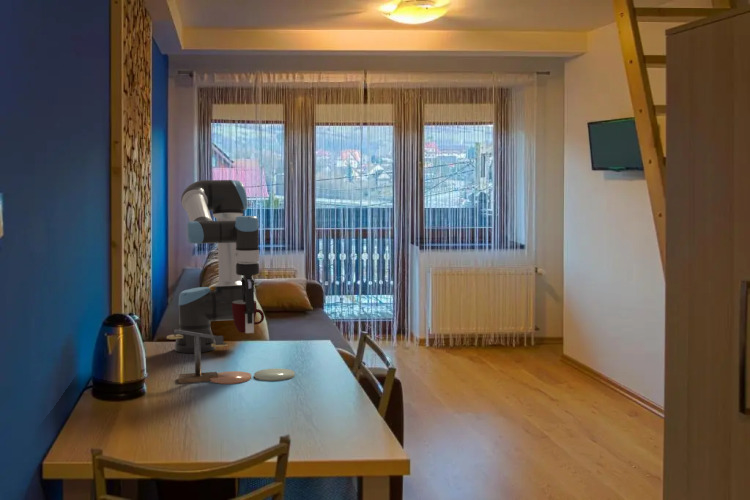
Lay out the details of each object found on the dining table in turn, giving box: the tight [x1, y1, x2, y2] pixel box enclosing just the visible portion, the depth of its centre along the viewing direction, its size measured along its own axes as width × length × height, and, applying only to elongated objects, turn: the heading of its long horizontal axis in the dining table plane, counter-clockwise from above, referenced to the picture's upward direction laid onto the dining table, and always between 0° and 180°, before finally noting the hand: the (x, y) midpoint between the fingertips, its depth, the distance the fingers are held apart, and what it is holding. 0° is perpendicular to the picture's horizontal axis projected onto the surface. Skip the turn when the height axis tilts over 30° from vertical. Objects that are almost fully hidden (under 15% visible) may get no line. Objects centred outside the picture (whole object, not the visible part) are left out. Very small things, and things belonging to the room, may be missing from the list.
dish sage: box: [253, 368, 296, 382], centre depth 244 cm, size 13×13×1 cm
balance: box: [166, 329, 228, 384], centre depth 239 cm, size 6×19×16 cm, turn 105°
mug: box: [232, 300, 265, 334], centre depth 251 cm, size 11×8×10 cm
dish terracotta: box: [209, 370, 252, 385], centre depth 240 cm, size 13×13×1 cm
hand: (248, 330), depth 252 cm, fingers closed on mug, 8 cm apart
